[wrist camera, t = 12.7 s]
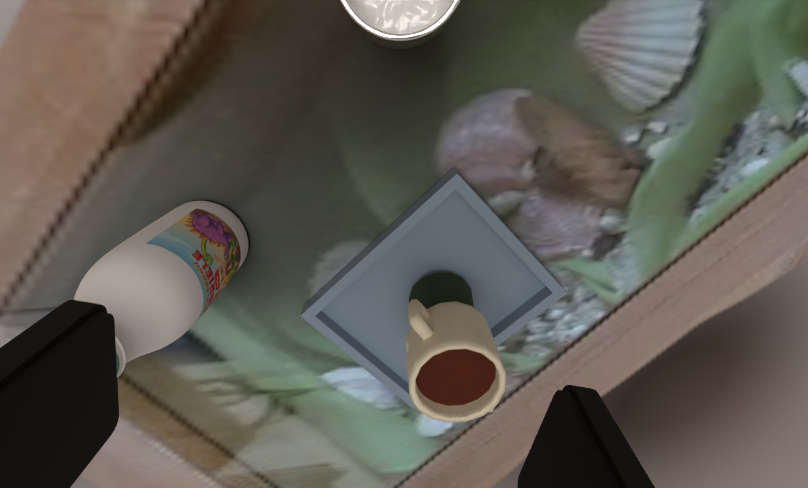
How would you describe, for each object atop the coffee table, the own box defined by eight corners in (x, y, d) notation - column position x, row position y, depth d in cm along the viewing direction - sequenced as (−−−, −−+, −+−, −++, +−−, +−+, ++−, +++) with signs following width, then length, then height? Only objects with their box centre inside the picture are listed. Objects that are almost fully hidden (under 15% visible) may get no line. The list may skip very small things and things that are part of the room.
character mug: (377, 277, 42) (370, 360, 30) (438, 235, 41) (456, 306, 29) (441, 351, 45) (458, 453, 33) (499, 316, 44) (539, 409, 32)
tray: (453, 167, 39) (457, 173, 37) (558, 281, 44) (567, 293, 41) (305, 303, 44) (300, 315, 42) (413, 393, 48) (413, 409, 46)
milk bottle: (183, 279, 43) (20, 441, 24) (155, 204, 40) (-54, 323, 21) (260, 268, 42) (155, 423, 24) (237, 192, 40) (98, 302, 21)
